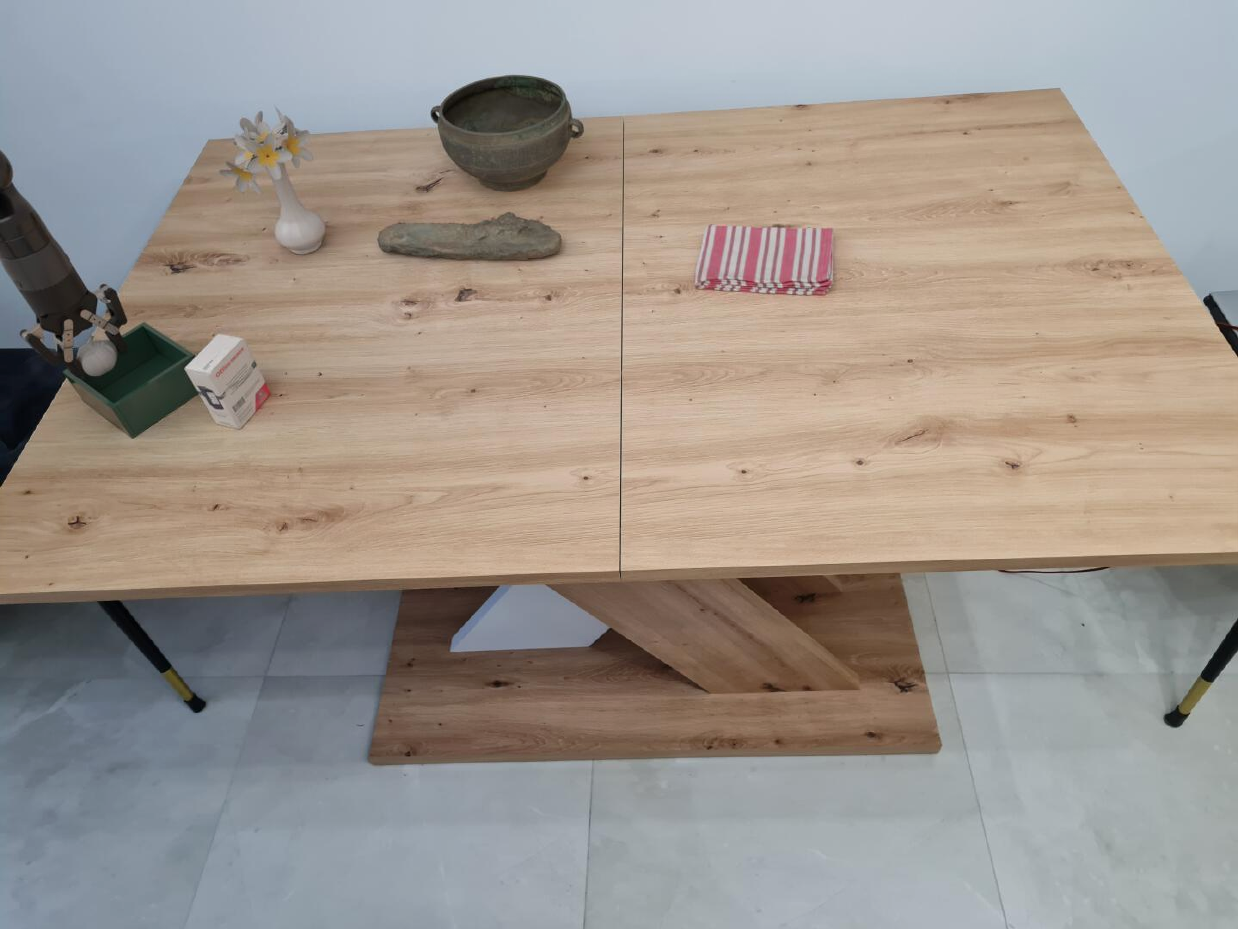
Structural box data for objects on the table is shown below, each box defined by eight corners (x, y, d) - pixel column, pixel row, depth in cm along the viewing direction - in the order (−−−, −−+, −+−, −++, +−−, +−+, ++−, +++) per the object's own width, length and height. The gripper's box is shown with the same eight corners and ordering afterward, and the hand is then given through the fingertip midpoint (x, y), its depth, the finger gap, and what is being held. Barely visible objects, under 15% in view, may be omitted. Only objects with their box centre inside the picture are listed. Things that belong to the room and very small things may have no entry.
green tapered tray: (132, 439, 139) (111, 408, 134) (83, 401, 145) (62, 371, 141) (211, 385, 146) (194, 354, 141) (161, 351, 153) (144, 321, 148)
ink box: (247, 387, 145) (217, 330, 136) (272, 393, 144) (244, 336, 135) (214, 424, 140) (181, 367, 131) (240, 430, 138) (209, 373, 130)
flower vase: (254, 276, 166) (198, 150, 147) (293, 219, 178) (245, 96, 159) (321, 278, 164) (272, 151, 145) (355, 220, 176) (314, 96, 157)
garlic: (104, 352, 139) (87, 326, 135) (131, 358, 138) (115, 332, 134) (76, 377, 135) (58, 351, 132) (104, 384, 134) (87, 358, 130)
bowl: (608, 147, 188) (602, 76, 177) (566, 216, 172) (557, 143, 160) (467, 134, 196) (453, 65, 185) (415, 199, 180) (396, 128, 168)
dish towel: (832, 297, 150) (834, 280, 147) (692, 290, 154) (692, 273, 151) (833, 238, 161) (835, 221, 159) (703, 233, 165) (703, 216, 162)
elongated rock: (392, 234, 174) (376, 268, 168) (383, 211, 170) (366, 244, 164) (567, 231, 167) (557, 266, 161) (562, 207, 163) (552, 242, 157)
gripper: (76, 238, 129) (131, 329, 141) (-22, 289, 122) (46, 381, 134) (103, 254, 125) (157, 347, 138) (5, 309, 118) (71, 401, 131)
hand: (102, 363), depth 136 cm, fingers closed on garlic, 6 cm apart
